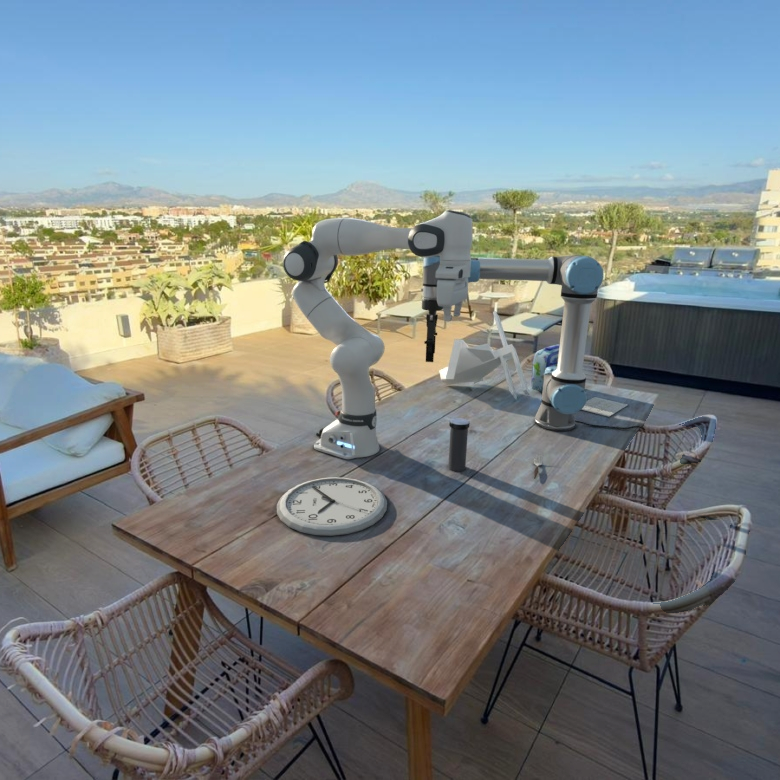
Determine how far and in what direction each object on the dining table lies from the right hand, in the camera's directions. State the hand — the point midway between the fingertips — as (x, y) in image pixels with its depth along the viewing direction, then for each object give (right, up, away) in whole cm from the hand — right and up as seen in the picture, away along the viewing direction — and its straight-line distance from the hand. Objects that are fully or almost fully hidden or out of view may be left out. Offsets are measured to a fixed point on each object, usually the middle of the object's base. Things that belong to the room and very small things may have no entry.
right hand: (430, 357), depth 190 cm
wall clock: (-30, -43, -47) cm, 71 cm away
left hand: (+4, +9, -36) cm, 37 cm away
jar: (+7, -37, -23) cm, 44 cm away
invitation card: (+77, -19, +37) cm, 87 cm away
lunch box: (+63, -12, +60) cm, 88 cm away
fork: (+32, -37, -24) cm, 55 cm away
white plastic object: (+27, -13, +54) cm, 61 cm away
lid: (+7, -22, -28) cm, 36 cm away
